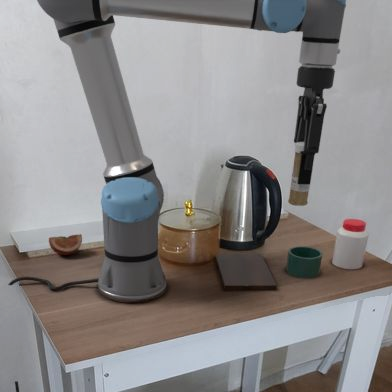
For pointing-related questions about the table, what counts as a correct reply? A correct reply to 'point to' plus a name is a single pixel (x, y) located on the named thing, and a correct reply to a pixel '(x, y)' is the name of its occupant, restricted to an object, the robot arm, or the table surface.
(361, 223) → the pill bottle
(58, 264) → the table surface
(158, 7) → the robot arm
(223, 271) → the board
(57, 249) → the fruit slice
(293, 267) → the cup
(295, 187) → the sprinkles bottle
